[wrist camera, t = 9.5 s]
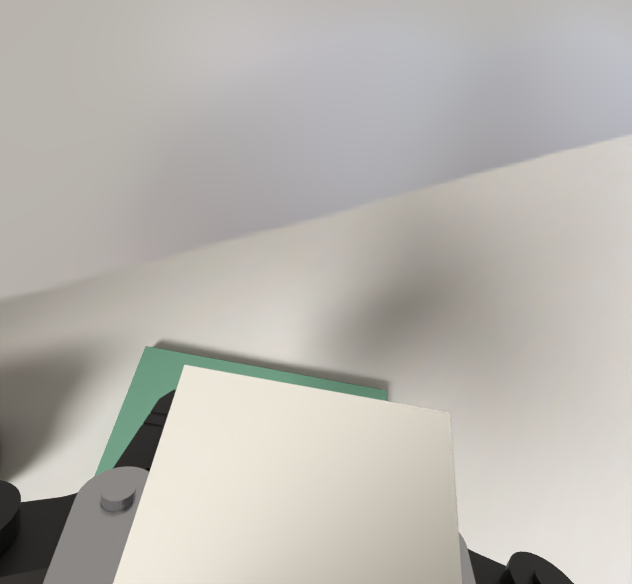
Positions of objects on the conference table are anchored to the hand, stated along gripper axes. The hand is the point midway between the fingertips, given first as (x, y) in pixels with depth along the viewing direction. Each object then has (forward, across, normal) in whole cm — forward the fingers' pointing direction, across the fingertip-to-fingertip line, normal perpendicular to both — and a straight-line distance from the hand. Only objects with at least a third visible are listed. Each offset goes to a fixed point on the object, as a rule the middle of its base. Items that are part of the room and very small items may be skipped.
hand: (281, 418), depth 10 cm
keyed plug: (+1, 0, +5) cm, 5 cm away
